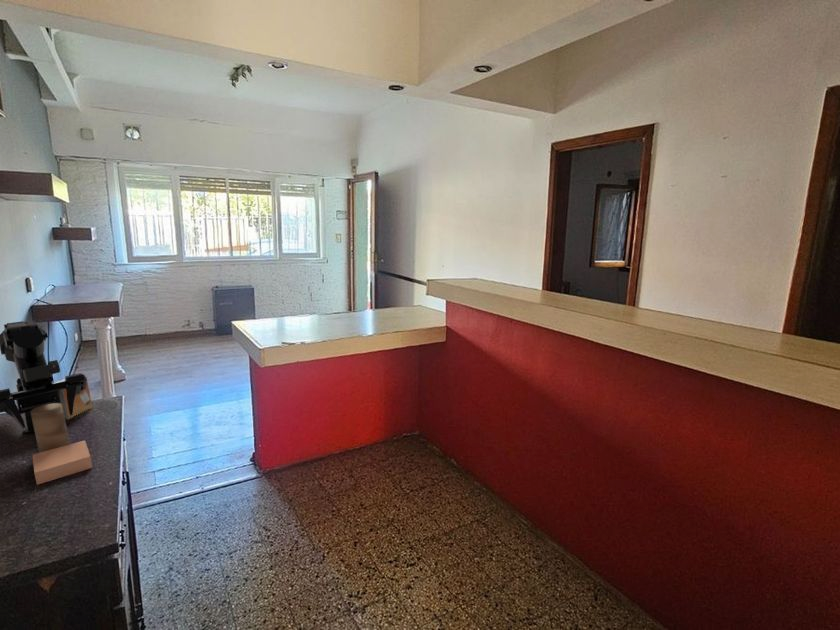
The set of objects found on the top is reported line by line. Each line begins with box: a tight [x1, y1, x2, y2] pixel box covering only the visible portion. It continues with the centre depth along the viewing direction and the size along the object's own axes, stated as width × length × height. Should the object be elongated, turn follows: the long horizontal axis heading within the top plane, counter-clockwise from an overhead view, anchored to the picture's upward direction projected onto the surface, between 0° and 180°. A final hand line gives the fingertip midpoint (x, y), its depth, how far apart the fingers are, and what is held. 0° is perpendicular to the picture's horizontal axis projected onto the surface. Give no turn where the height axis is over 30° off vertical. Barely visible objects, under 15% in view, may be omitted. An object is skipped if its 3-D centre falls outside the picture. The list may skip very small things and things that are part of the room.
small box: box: [53, 376, 93, 420], centre depth 130 cm, size 8×6×10 cm
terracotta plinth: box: [32, 440, 93, 486], centre depth 103 cm, size 10×10×3 cm
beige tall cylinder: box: [30, 403, 71, 453], centre depth 109 cm, size 6×6×12 cm
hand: (48, 421), depth 109 cm, fingers open, 9 cm apart
